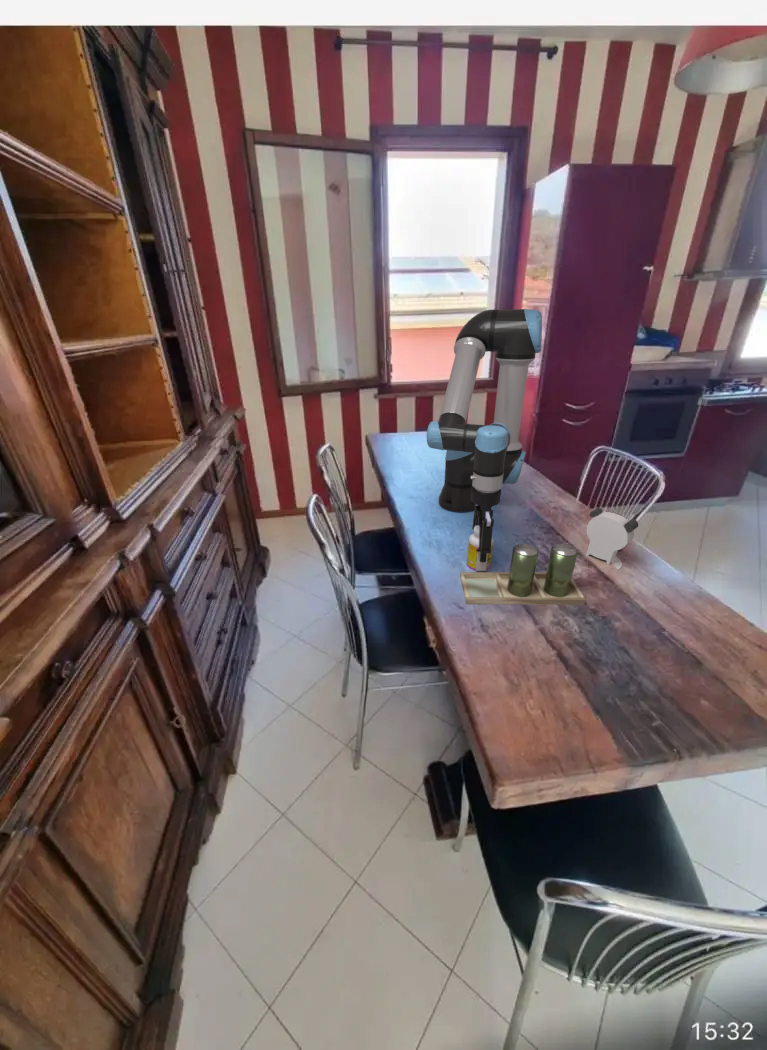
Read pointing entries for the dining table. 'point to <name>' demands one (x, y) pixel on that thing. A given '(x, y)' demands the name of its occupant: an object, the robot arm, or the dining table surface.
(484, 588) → the caddy
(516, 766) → the dining table surface
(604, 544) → the panda figurine
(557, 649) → the dining table surface
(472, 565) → the supplement bottle
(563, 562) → the can
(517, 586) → the can
